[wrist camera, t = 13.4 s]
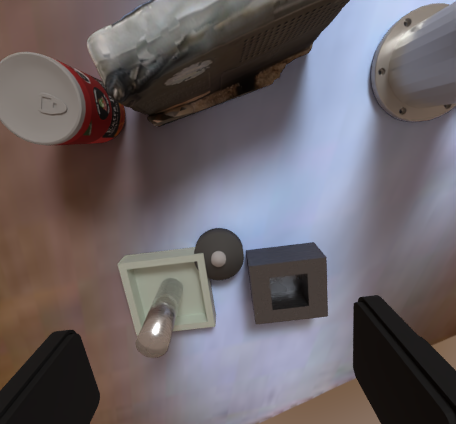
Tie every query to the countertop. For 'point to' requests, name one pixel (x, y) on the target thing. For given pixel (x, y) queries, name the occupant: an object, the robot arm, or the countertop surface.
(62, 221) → the countertop surface
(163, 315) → the pin
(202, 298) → the parts tray
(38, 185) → the countertop surface
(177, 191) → the countertop surface
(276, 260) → the block
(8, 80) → the canned food
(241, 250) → the wheel
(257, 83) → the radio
